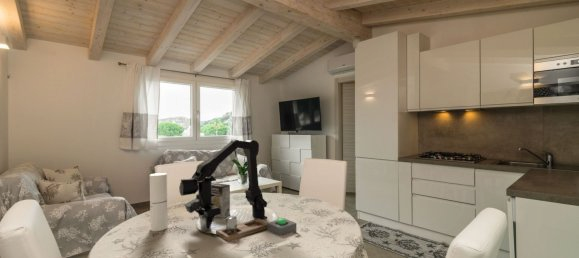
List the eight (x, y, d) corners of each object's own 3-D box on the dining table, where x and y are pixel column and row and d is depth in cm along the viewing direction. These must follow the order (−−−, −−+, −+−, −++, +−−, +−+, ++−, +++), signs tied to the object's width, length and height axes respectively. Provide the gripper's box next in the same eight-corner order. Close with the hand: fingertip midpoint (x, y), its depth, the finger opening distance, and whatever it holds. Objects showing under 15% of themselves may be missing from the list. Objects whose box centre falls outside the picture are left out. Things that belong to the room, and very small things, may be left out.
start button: (275, 224, 117) (275, 219, 117) (282, 221, 120) (282, 217, 120) (281, 226, 114) (281, 221, 114) (288, 224, 117) (288, 219, 117)
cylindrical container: (160, 231, 119) (159, 175, 119) (146, 230, 121) (145, 175, 121) (171, 225, 126) (170, 173, 126) (157, 224, 128) (156, 172, 128)
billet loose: (199, 230, 119) (198, 214, 119) (208, 227, 122) (208, 212, 122) (203, 233, 116) (202, 217, 115) (212, 230, 118) (212, 214, 118)
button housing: (267, 232, 117) (267, 222, 117) (283, 226, 123) (282, 218, 123) (280, 238, 110) (280, 228, 110) (296, 232, 116) (296, 223, 116)
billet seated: (224, 234, 113) (224, 217, 113) (233, 231, 116) (233, 215, 116) (229, 237, 110) (229, 220, 109) (238, 234, 112) (238, 217, 112)
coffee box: (209, 215, 140) (208, 185, 140) (217, 212, 146) (217, 182, 145) (222, 218, 136) (221, 186, 135) (230, 214, 141) (230, 184, 141)
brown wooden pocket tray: (216, 236, 113) (216, 230, 113) (255, 224, 127) (255, 219, 127) (227, 243, 106) (227, 237, 106) (268, 230, 119) (268, 224, 119)
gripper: (179, 191, 120) (179, 226, 120) (195, 199, 106) (196, 238, 106) (202, 187, 128) (203, 220, 128) (221, 194, 114) (222, 230, 114)
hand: (205, 226), depth 119 cm, fingers closed on billet loose, 4 cm apart
